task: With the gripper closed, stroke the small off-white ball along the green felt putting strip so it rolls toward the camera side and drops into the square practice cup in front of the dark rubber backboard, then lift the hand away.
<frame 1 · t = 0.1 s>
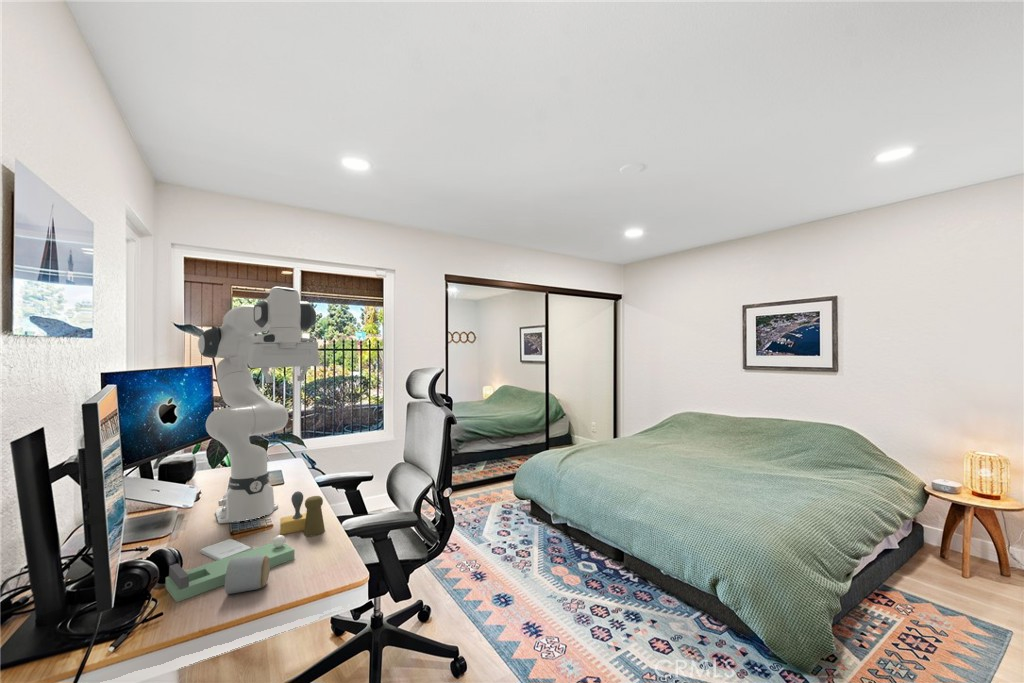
hand: (285, 381, 133), 48 cm above the table, fingers open, 8 cm apart
ball: (279, 547, 118), point 2 cm above the table, touching putting strip
putting strip: (234, 572, 110), on the table
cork: (314, 532, 134), on the table
ceramic mug: (248, 587, 103), on the table
external hard drive: (226, 554, 122), on the table
rubber stamp: (297, 529, 138), on the table
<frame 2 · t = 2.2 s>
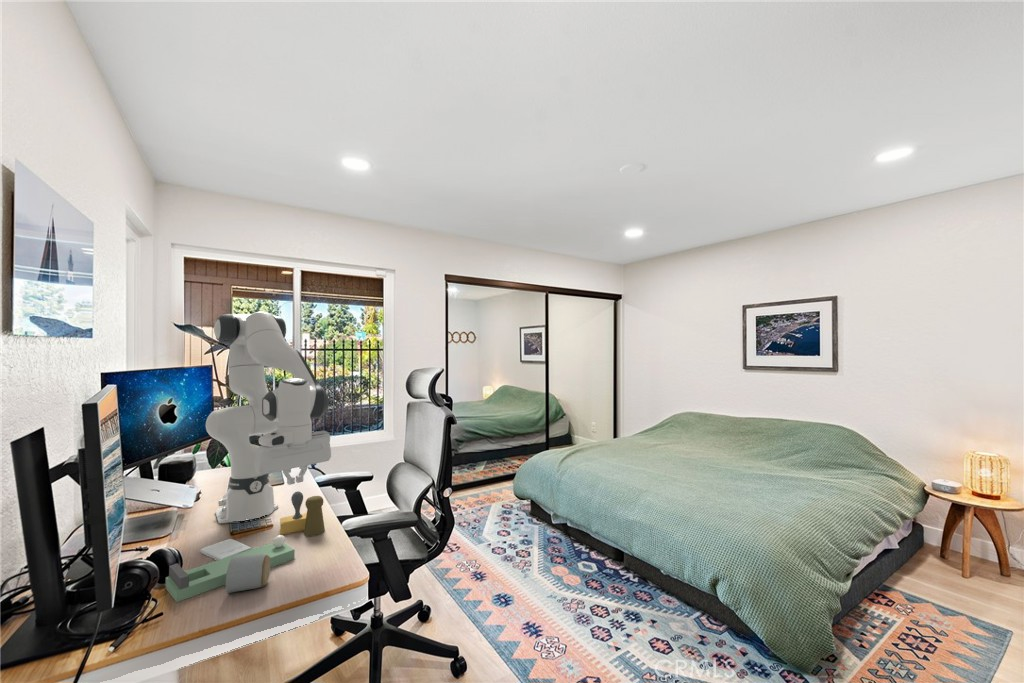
hand: (295, 483, 122), 19 cm above the table, fingers closed
nothing on the table moved.
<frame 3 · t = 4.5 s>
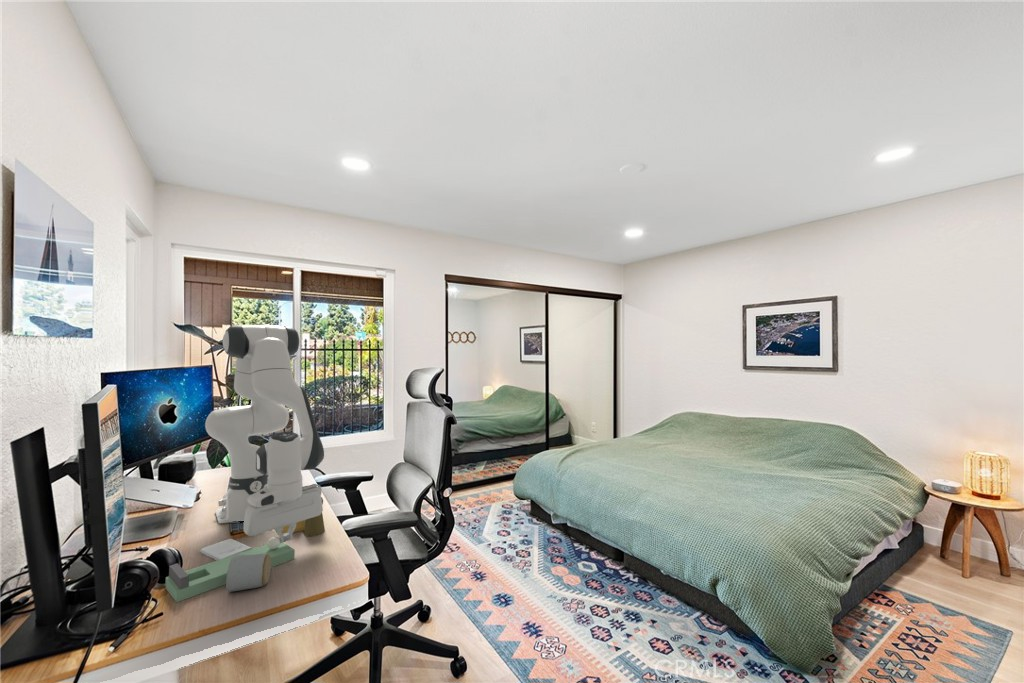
hand: (285, 540, 119), 4 cm above the table, fingers closed
ball: (278, 545, 118), point 3 cm above the table, tilted 50°, touching gripper, putting strip
everything else where it was.
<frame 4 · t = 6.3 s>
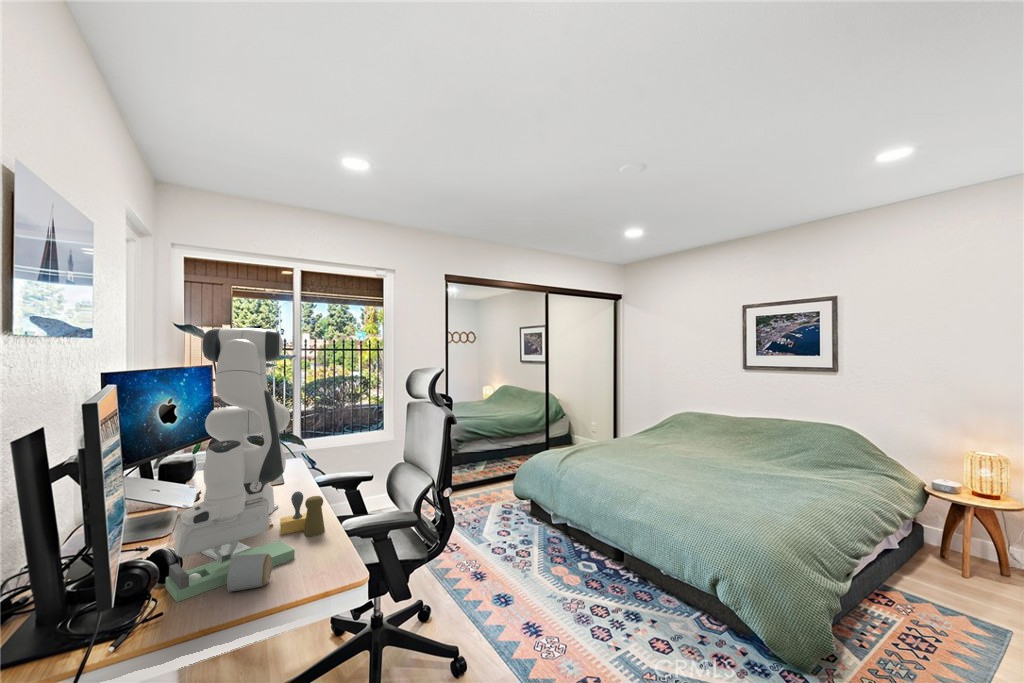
hand: (225, 561, 108), 4 cm above the table, fingers closed
ball: (195, 586, 103), resting in putting strip, tilted 13°
ceramic mug: (250, 585, 104), on the table, touching putting strip
everything else where it was.
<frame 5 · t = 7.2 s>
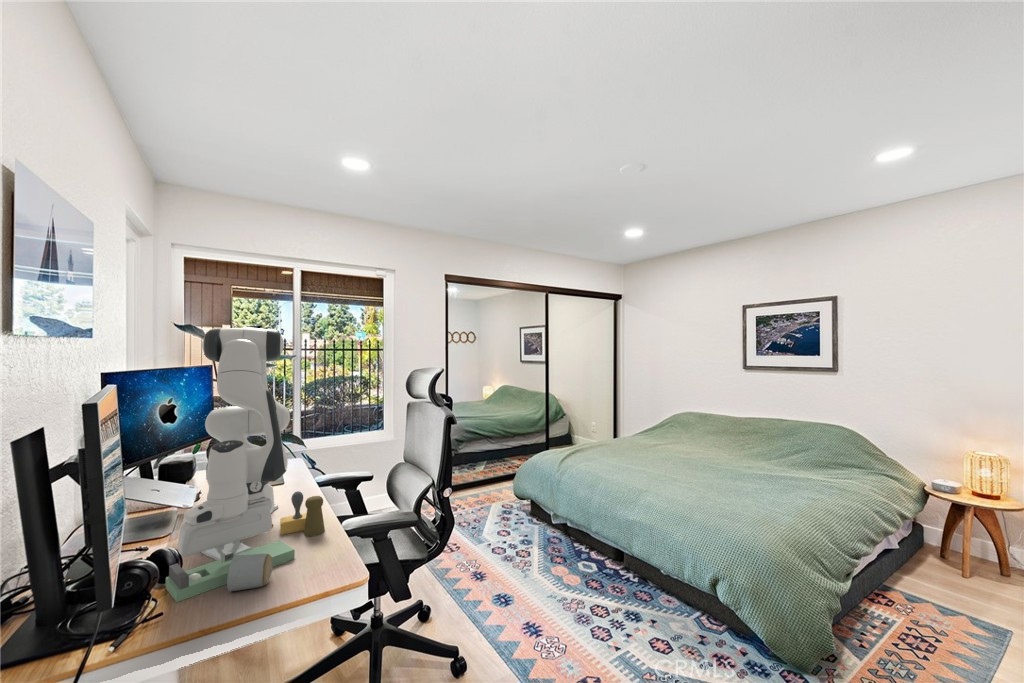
hand: (228, 560, 109), 4 cm above the table, fingers closed
ceramic mug: (250, 585, 104), on the table
everything else where it was.
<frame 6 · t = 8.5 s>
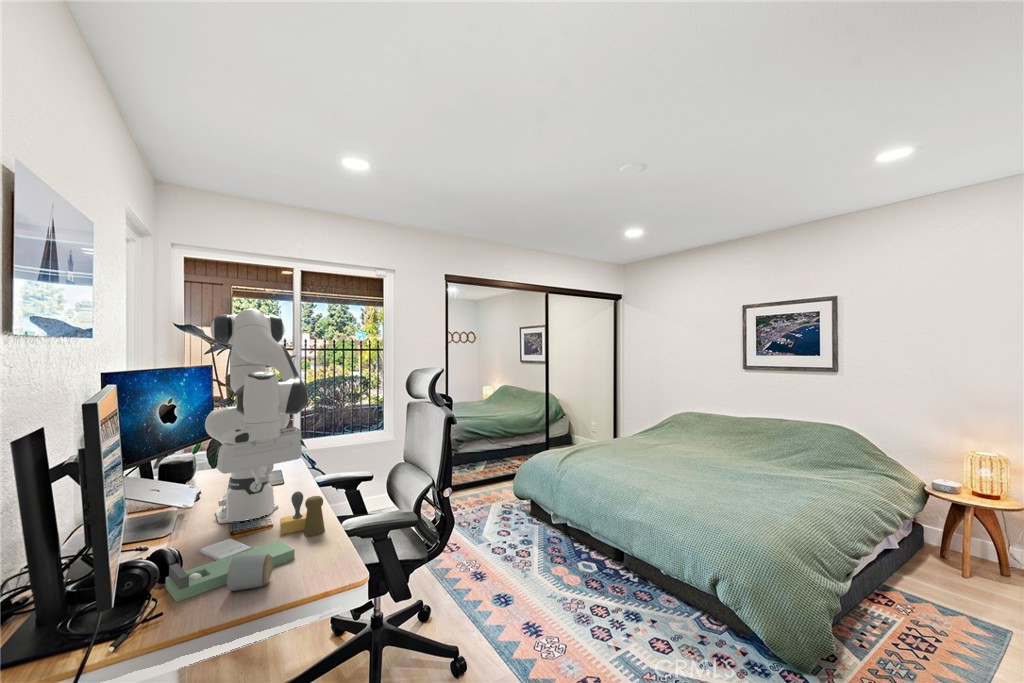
hand: (262, 482, 116), 21 cm above the table, fingers closed
nothing on the table moved.
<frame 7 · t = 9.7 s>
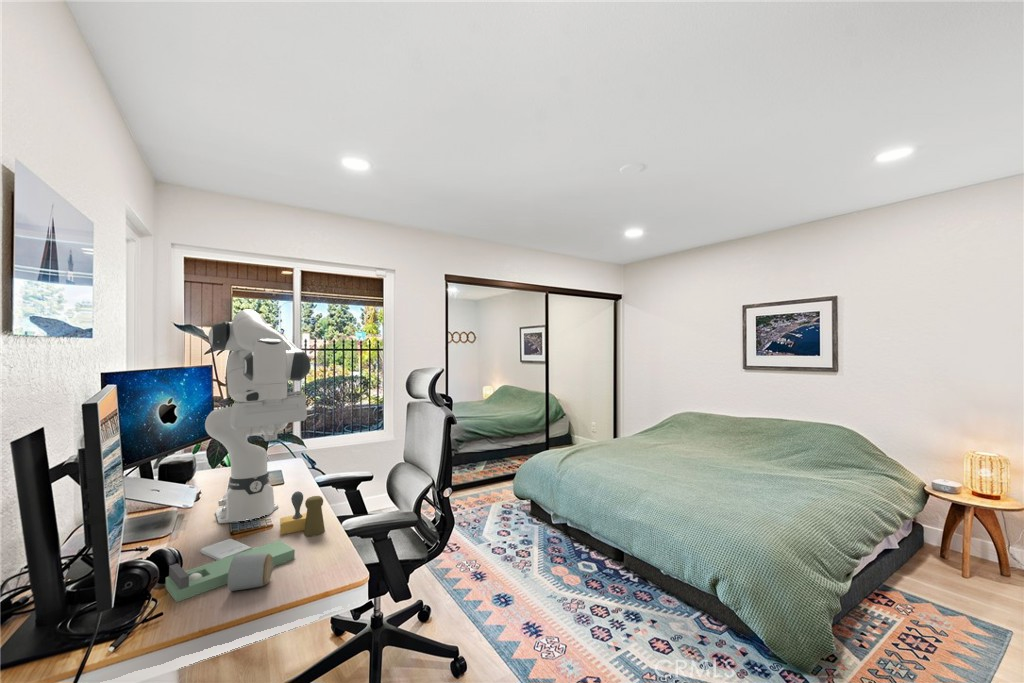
hand: (270, 440, 125), 31 cm above the table, fingers closed
nothing on the table moved.
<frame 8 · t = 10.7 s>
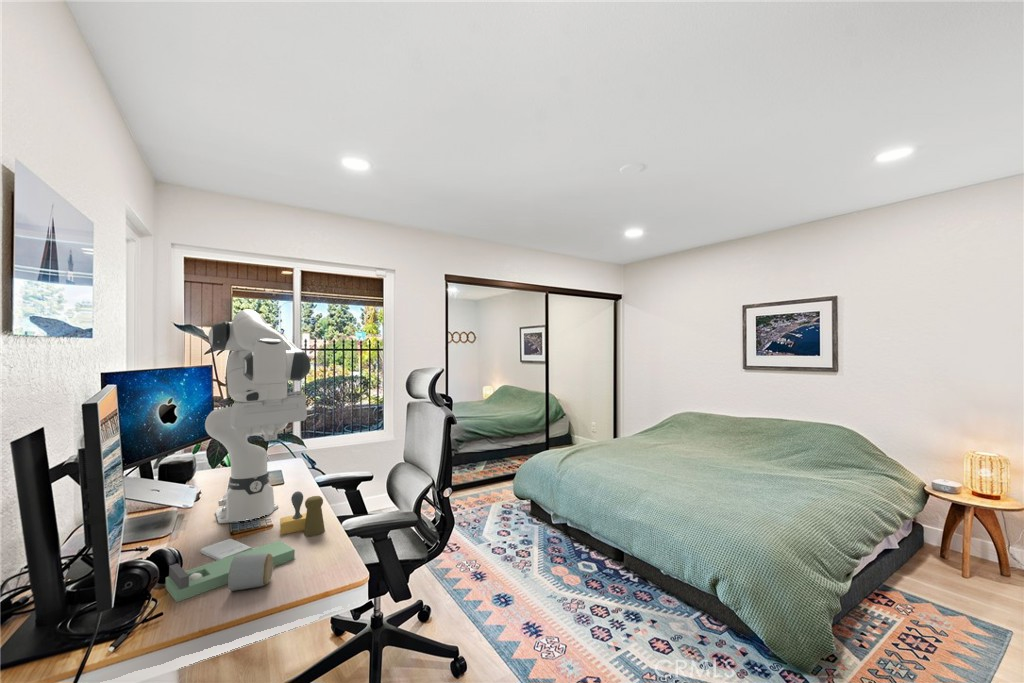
hand: (270, 440, 125), 31 cm above the table, fingers closed
nothing on the table moved.
at the end: ball 0.4 cm from the target spot on the putting strip, point 0.0 cm above the putting strip's base; ball touching table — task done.
